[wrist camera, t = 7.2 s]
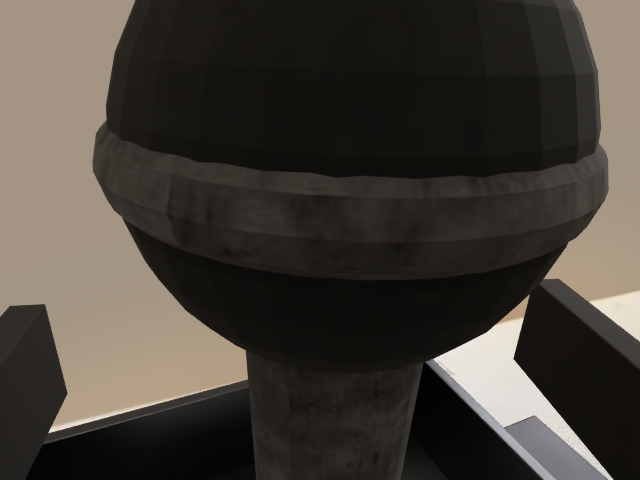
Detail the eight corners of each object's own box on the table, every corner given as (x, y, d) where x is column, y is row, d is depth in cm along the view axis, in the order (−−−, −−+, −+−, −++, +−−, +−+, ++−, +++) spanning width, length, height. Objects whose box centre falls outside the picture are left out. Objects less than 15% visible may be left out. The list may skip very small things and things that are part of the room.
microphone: (254, 553, 17) (228, -61, 9) (436, 612, 16) (598, -68, 8) (144, 825, 11) (-204, -255, 3) (421, 966, 10) (1119, -481, 2)
